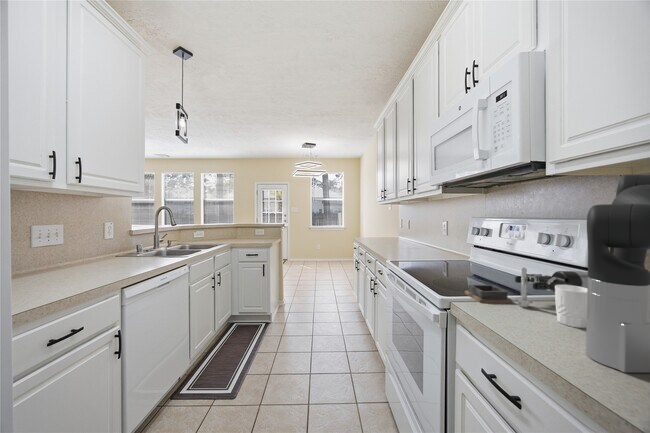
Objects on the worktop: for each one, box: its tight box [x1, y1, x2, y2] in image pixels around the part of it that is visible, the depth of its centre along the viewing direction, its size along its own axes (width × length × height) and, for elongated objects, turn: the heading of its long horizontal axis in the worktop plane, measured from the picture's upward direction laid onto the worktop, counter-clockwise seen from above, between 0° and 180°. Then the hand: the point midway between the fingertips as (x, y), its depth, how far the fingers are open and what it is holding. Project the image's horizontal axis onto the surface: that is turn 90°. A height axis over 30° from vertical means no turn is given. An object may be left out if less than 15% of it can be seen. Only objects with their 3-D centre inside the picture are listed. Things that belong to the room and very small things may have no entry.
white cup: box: [554, 285, 588, 329], centre depth 80 cm, size 8×8×10 cm
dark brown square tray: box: [464, 284, 513, 304], centre depth 103 cm, size 11×11×4 cm
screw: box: [514, 267, 534, 309], centre depth 94 cm, size 13×5×5 cm
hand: (524, 282), depth 94 cm, fingers open, 8 cm apart
